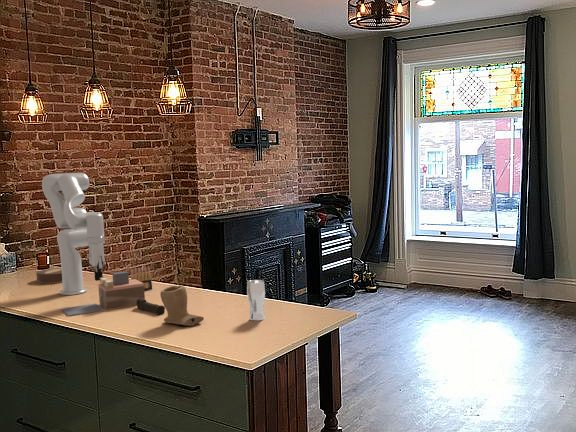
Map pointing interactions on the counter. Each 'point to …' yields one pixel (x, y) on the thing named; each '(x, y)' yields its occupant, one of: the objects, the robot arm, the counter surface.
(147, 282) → the ammunition clip
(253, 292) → the beer glass
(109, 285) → the rectangular bar
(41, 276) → the container
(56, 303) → the counter surface
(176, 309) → the brown boot
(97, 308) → the mat
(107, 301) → the toolbox
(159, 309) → the black rough elongated piece
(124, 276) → the lid
